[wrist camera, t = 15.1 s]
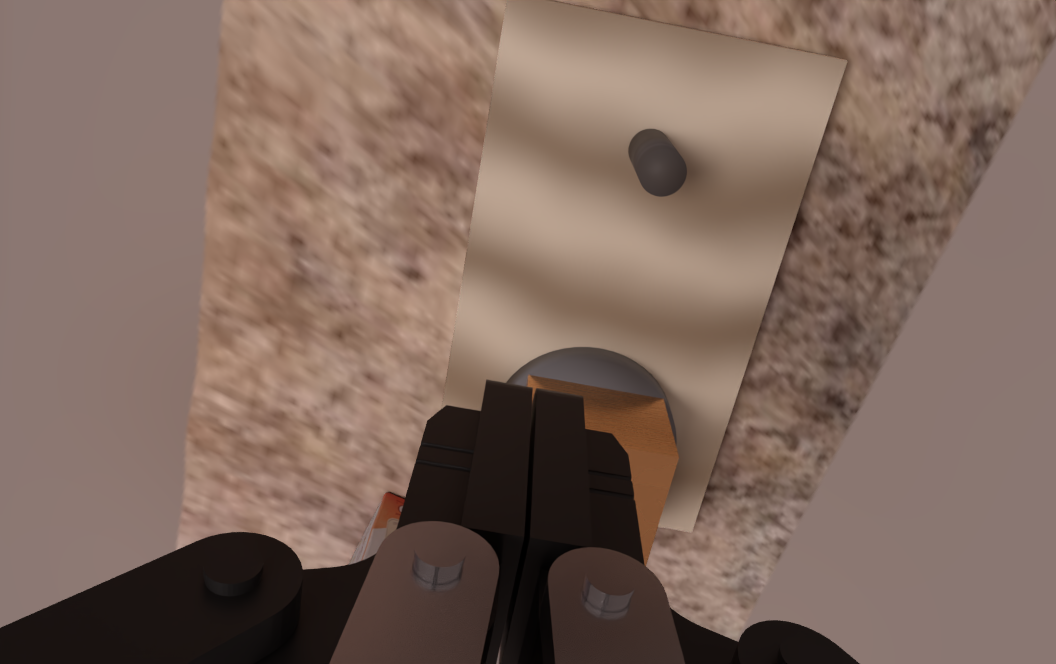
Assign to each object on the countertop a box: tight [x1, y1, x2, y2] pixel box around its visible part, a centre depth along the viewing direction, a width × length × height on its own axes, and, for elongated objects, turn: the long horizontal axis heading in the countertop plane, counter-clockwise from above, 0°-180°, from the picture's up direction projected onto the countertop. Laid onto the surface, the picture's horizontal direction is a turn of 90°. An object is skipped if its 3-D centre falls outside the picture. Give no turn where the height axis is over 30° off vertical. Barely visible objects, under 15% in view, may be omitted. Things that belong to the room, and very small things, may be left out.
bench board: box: [441, 0, 848, 533], centre depth 35 cm, size 24×14×7 cm, turn 170°
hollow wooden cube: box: [526, 375, 679, 566], centre depth 36 cm, size 6×6×5 cm
